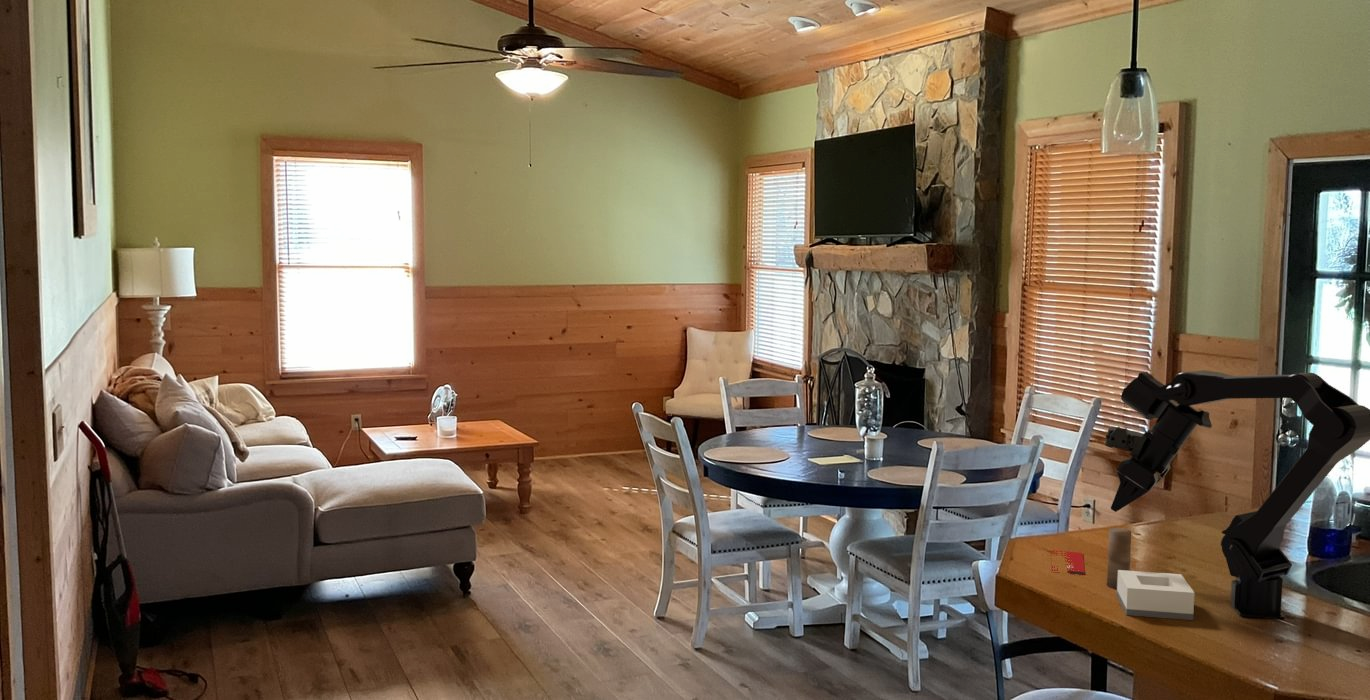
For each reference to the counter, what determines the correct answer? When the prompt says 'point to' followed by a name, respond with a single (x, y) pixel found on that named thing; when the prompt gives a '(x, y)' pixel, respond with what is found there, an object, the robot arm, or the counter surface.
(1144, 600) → the bore block
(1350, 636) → the counter surface
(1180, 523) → the counter surface
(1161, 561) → the counter surface
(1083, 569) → the electronic device
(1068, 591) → the counter surface
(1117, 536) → the walnut pin
